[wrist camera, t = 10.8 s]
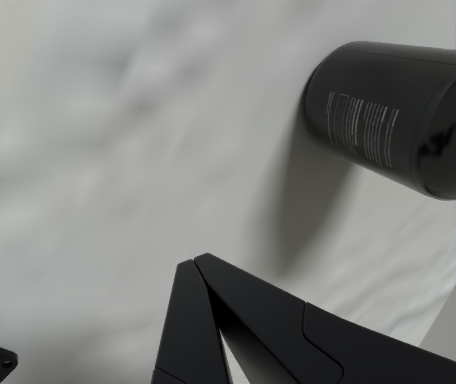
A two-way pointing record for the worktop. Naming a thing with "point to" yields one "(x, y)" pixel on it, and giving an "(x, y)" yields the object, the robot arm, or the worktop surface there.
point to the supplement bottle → (389, 112)
